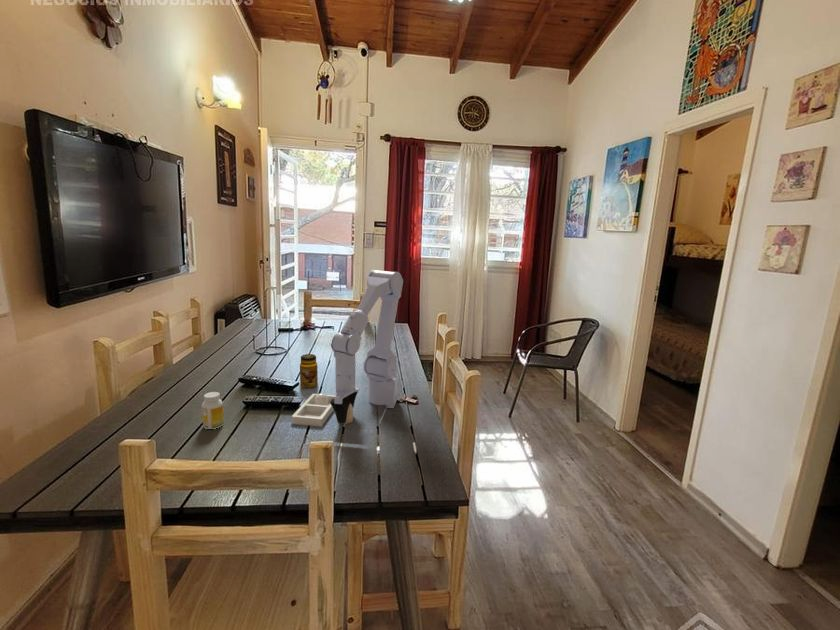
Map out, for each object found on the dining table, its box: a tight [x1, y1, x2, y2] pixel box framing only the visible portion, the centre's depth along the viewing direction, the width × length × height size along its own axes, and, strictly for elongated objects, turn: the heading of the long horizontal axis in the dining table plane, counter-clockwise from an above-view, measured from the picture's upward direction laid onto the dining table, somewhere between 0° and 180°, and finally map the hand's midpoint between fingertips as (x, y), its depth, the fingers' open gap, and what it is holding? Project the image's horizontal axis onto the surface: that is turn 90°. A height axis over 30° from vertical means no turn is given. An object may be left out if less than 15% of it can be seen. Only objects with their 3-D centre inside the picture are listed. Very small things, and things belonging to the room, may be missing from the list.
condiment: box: [299, 353, 319, 390], centre depth 147 cm, size 7×8×12 cm
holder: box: [291, 393, 335, 427], centre depth 127 cm, size 9×17×3 cm, turn 174°
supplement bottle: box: [201, 391, 225, 430], centre depth 117 cm, size 5×5×10 cm
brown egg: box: [341, 403, 354, 425], centre depth 123 cm, size 4×4×7 cm
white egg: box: [314, 392, 328, 406], centre depth 131 cm, size 4×4×4 cm
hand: (345, 416), depth 123 cm, fingers open, 7 cm apart
